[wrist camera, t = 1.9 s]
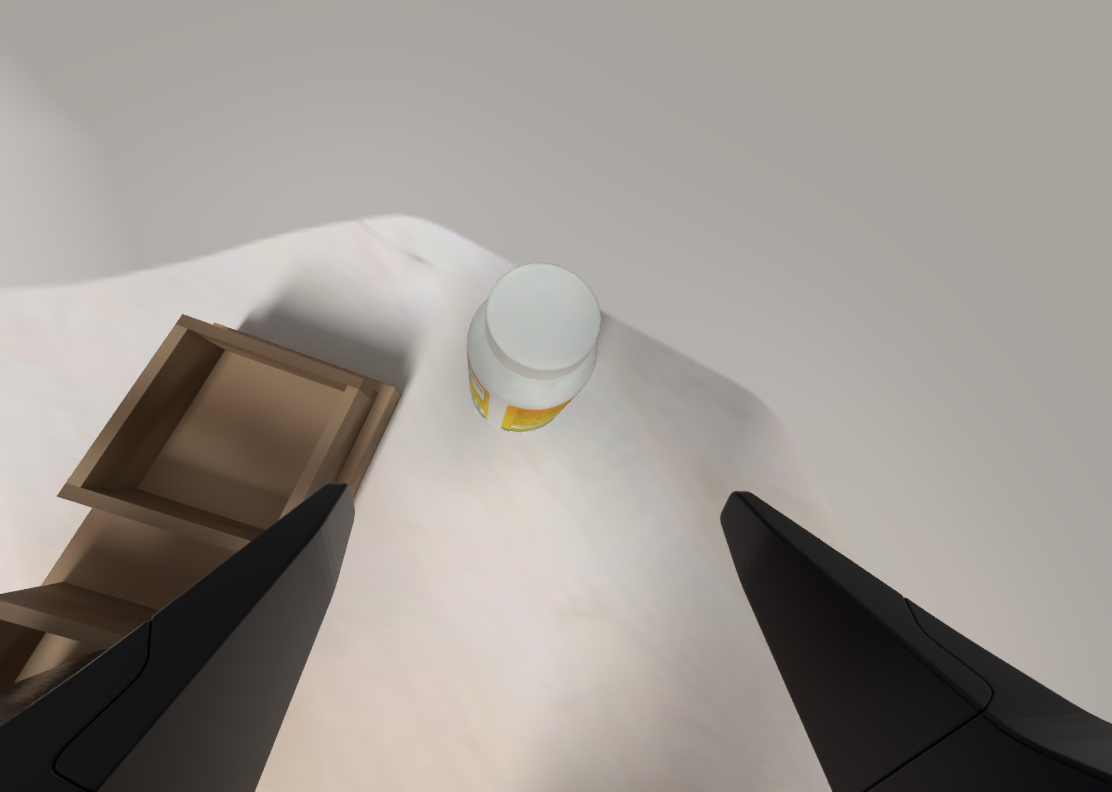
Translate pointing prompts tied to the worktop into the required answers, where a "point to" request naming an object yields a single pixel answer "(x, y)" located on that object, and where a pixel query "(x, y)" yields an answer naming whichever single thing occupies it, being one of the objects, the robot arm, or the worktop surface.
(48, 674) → the graphite billet
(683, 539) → the worktop surface
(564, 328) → the supplement bottle
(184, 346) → the wooden compartment tray
